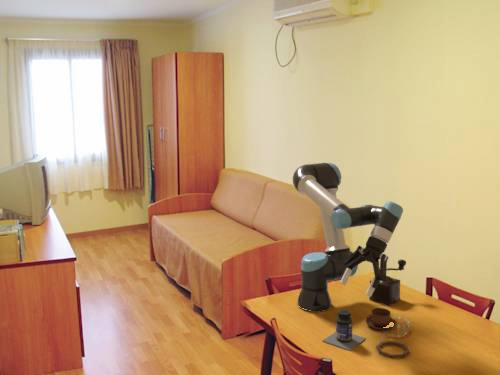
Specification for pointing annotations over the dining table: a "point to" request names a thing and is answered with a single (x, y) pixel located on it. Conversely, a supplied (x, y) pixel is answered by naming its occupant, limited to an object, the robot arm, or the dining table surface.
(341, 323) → the pill bottle
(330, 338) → the mat
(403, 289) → the dining table surface
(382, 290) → the manual coffee grinder
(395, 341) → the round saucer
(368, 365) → the dining table surface
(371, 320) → the cup and saucer
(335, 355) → the dining table surface
